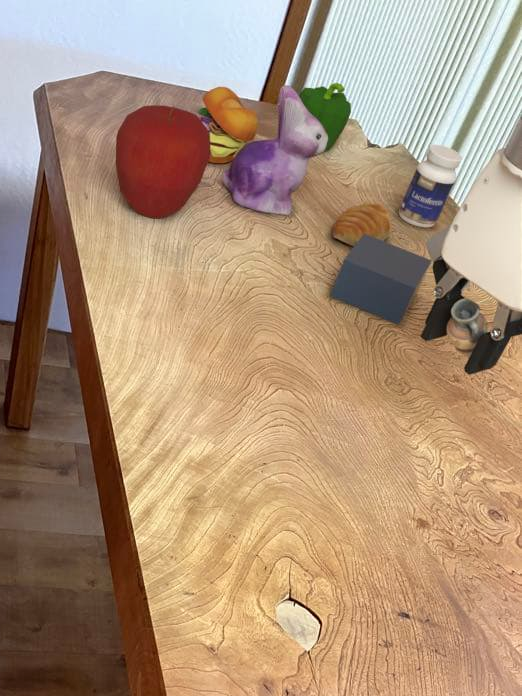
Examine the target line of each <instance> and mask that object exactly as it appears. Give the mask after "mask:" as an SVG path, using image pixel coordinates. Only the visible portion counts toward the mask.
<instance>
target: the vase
mask: <svg viewBox="0 0 522 696" xmlns="http://www.w3.org/2000/svg"><path fill="white" fill-rule="evenodd" d="M451 314H452V317H451V318H450V320H449V322H448V324H447V335H446V336H447V339H448V341H449V344H450V346H451V345H452V347H453V348H454V349H455V351H457V353H459V354H460V355H463V356H464V357H466V358H468V359H469V357H470V355H471V353H472V352H473V350H474V348H475V346H476V344H477V342H478V340H479V339H480V337H481V335H482V334H484V333H487V332H488V321H487V319H486V317H485V316H484V315H483V313H481V307H480V306H479V304H477V303H476V302H475V301H474V300H471V299H469V298H466V297H465V298H464V299H461V300H459V301H457V302H456V303H455V304H454V305H453V307H452V310H451Z"/></svg>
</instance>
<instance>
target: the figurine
mask: <svg viewBox="0 0 522 696" xmlns="http://www.w3.org/2000/svg"><path fill="white" fill-rule="evenodd" d="M277 122H278V123H277V138H274V139H273V138H272V139H263V140H252V141H249V142H247V144H246V145H245V146H244V147H242V148H241V149H240V150H239V152H238V153H237V154H236V156H235V157H234V159H233V161H231V164H230V166H229V168H227V169H225V170H224V171H223V172H222V174H221V178H222V182H223V185H224V186H225V188H227V189H228V191H229V192H230V194H231V196H232V200H233V202H234V203H236V205H238V206H239V207H243V208H247V209H250V210H252V211H256V212H260V213H264V214H266V213H267V214H276V215H281V216H288V215H290V214H291V212H292V209H293V208H292V207H293V205H292V193H294V192H296V191H297V189H298V188H299V187H300V186H302V184H303V182H304V180H305V177H306V174H307V169H308V165H309V162H310V161H309V160H310V159H312V158H315V157H317V156H320V155H322V154H323V153H324V152H325V151H324V150H325V148H326V146H327V142H328V135H327V133H326V132H325V130H324V128H323V126H322V124H321V123H320V122H319V121H318V120H317V119H316V118H315V117H314V116H313V115H311V114H310V113H309V111H308V110H307V109H306V107H305V106H304V104H303V103H302V101H301V99H300V97H299V94H298V93H297V92H296V91H295V89H294V88H293V87H291V86H290V85H288V84H285V85H282V86H281V87H280V89H279V92H278V121H277Z"/></svg>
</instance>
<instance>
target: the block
mask: <svg viewBox="0 0 522 696" xmlns="http://www.w3.org/2000/svg"><path fill="white" fill-rule="evenodd" d="M432 262H433V261H431V259H429V258H426V257H424V256H422V255H420V254H417V253H414V252H412V251H409V250H407V249H404V248H401V247H399V246H397V245H394V244H391V243H389V242H387V241H385V240H384V241H382V240H379V239H377V238H374V237H372V236H369V235H367V234H363V236H362V237H361V238H360V240H359V241H358V242H357V243H356V245H355V246H352V248H351V250H350V251H349V252H348V253H347V255H346V256H345V258H343V261H342V264H341V266H340V269H339V271H338V274H337V276H336V279H335V281H334V284H333V286H332V288H331V291H330V293H329V297H330V298H333V299H336V300H338V301H341V302H343V303H346V304H348V305H350V306H352V307H355V308H357V309H360V310H362V311H365V312H367V313H369V314H371V315H374V316H376V317H378V318H381V319H383V320H386V321H389V322H391V323H393V324H396V325H400V323H401V322H402V320H403V318H404V316H405V315H406V313H407V312H408V309H409V308H410V306H411V305H412V303H413V301H414V299H415V298H416V295H417V294H418V291H419V289H420V287H421V285H422V283H423V281H424V279H425V276H426V274H427V273H428V270H429V268H430V266H431V264H432Z"/></svg>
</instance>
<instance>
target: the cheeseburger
mask: <svg viewBox="0 0 522 696" xmlns="http://www.w3.org/2000/svg"><path fill="white" fill-rule="evenodd" d="M202 101H203V104H204V106H205V107H201V108H200V109H198V111H197V110H196V111H192V112H191V113H193V114H195V115H197V116H198V118H199V119H200V120H201V121H202V123H203V124H204V125H205V127H206V128H207V130H208V131H209V132H210V150H211V151H210V158H209V161H208V163H212V164H225V163H229V162H230V163H231V162H232V161H233V159H234V157H235V156H236V154H237V153H238V152H239V150H240V149H241V148H242V147H244V146H245V145H247V144H248V142H252V141H254V139H255V137H256V135H257V133H258V129H259V120H258V116H257V112H255V111H254V110H253V109H251V108H247V107H245V106H244V105H243V103H242V101H241V100H240V98H239V96H238V95H237V93H235V92H234V91H233V90H232V89H230V88H229V87H226V86H217V87H214V88H211V89H209V91H207V92H206V93H205V94H204V95H203V96H202Z"/></svg>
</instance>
